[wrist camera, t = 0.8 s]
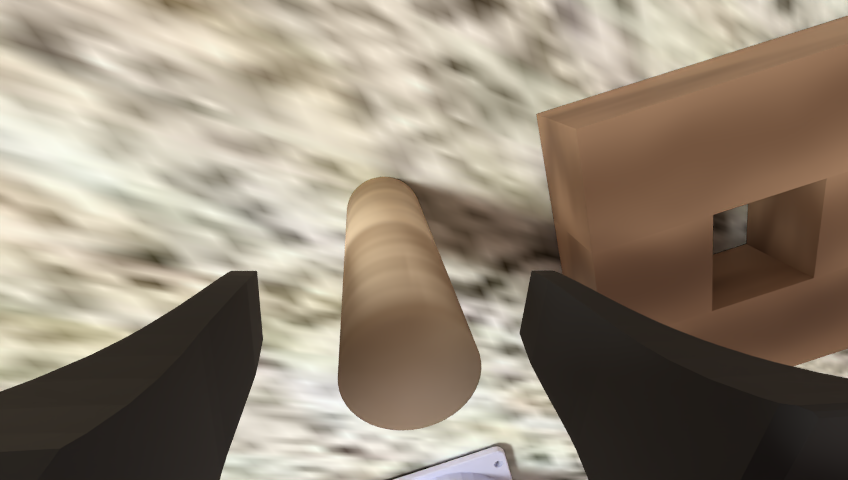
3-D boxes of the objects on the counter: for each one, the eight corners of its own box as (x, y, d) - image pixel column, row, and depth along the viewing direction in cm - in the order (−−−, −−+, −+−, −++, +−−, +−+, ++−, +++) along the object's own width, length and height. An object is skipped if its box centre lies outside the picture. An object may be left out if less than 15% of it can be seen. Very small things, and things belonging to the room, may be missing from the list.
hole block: (826, 293, 24) (899, 331, 20) (578, 373, 23) (613, 425, 20) (867, 9, 18) (979, 1, 14) (536, 114, 17) (576, 129, 14)
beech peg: (427, 232, 19) (494, 405, 10) (360, 253, 19) (365, 446, 10) (408, 167, 18) (463, 296, 9) (336, 190, 18) (315, 343, 8)
